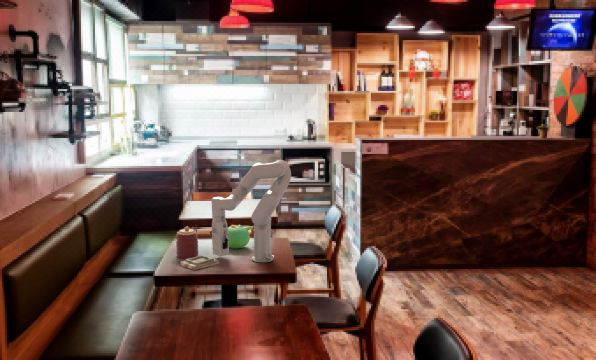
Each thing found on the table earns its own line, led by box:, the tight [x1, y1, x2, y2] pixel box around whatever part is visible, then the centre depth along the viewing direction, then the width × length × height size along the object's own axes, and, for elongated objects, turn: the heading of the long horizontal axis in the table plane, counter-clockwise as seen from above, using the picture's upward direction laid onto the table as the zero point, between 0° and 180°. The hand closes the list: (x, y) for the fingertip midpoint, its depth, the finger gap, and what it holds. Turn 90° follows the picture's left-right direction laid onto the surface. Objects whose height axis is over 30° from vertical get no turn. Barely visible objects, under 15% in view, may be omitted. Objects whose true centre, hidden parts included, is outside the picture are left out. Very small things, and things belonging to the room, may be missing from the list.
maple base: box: [180, 254, 220, 271], centre depth 362 cm, size 13×17×3 cm
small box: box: [211, 233, 230, 257], centre depth 374 cm, size 8×6×13 cm
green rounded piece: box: [228, 224, 254, 249], centre depth 398 cm, size 18×17×15 cm
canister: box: [175, 226, 199, 259], centre depth 379 cm, size 13×13×18 cm
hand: (220, 247), depth 374 cm, fingers closed on small box, 8 cm apart
